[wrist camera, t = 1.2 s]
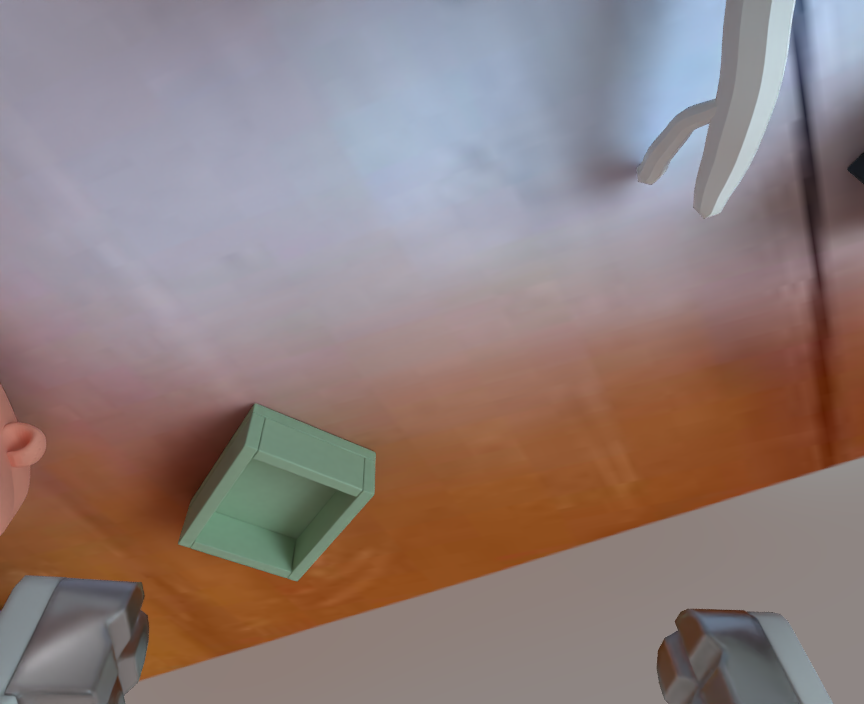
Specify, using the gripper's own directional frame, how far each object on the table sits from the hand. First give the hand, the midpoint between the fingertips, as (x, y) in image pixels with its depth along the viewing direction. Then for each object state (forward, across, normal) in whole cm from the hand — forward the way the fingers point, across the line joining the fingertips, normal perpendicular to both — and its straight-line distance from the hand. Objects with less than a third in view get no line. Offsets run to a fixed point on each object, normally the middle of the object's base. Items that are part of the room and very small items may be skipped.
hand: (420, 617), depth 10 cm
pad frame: (+17, +4, +15) cm, 24 cm away
